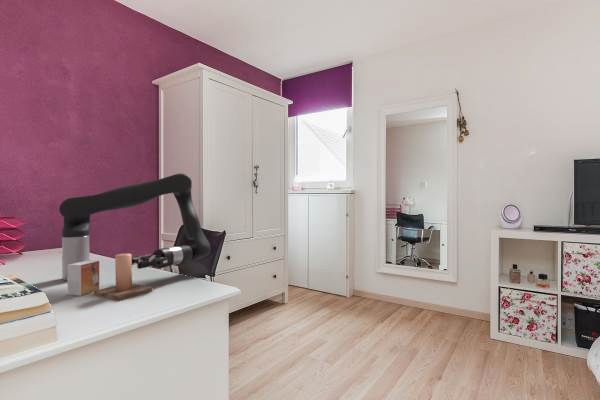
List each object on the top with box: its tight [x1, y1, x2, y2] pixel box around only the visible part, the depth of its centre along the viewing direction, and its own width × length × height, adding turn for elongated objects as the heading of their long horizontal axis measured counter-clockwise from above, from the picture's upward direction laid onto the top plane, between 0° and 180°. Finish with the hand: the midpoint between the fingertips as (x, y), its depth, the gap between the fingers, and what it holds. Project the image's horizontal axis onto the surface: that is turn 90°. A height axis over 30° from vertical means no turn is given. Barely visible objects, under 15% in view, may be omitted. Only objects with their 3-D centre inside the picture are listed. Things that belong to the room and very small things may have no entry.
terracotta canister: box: [114, 252, 133, 291], centre depth 112 cm, size 5×5×12 cm
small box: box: [67, 260, 100, 297], centre depth 113 cm, size 8×6×10 cm
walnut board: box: [93, 283, 153, 302], centre depth 112 cm, size 14×12×1 cm
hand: (130, 264), depth 114 cm, fingers open, 8 cm apart
